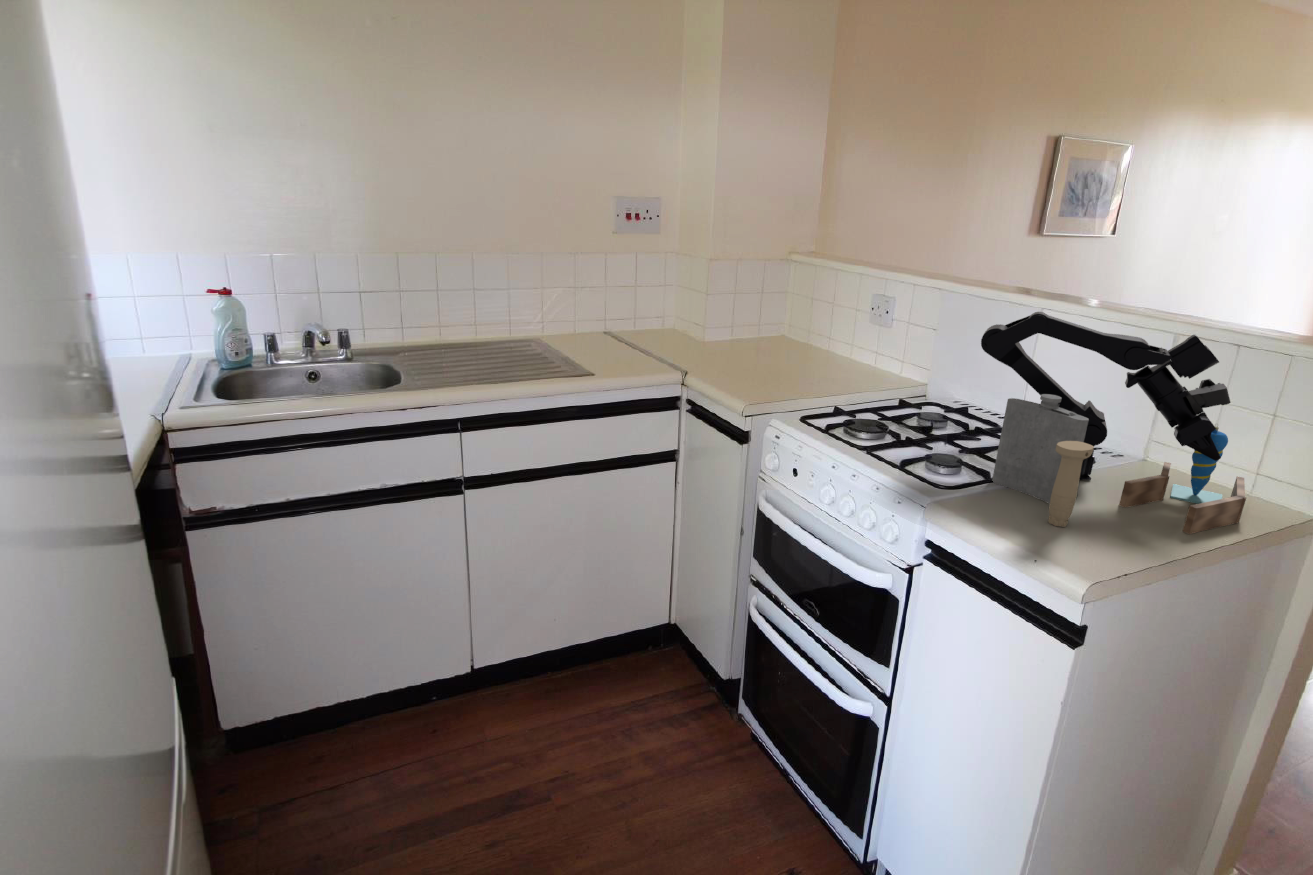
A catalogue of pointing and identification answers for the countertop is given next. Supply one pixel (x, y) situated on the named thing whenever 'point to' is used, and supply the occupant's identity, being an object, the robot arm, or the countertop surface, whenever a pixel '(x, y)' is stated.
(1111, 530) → the countertop surface
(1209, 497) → the pad
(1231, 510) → the channel
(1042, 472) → the hip flask
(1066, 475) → the handle
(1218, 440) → the ornament
